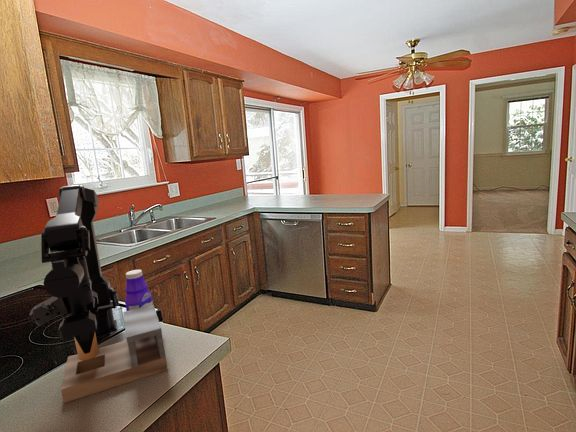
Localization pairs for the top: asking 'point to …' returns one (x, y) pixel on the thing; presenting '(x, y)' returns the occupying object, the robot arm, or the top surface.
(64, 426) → the top surface
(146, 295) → the bottle
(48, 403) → the top surface
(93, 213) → the robot arm
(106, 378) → the socket block
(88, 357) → the peg
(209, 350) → the top surface
